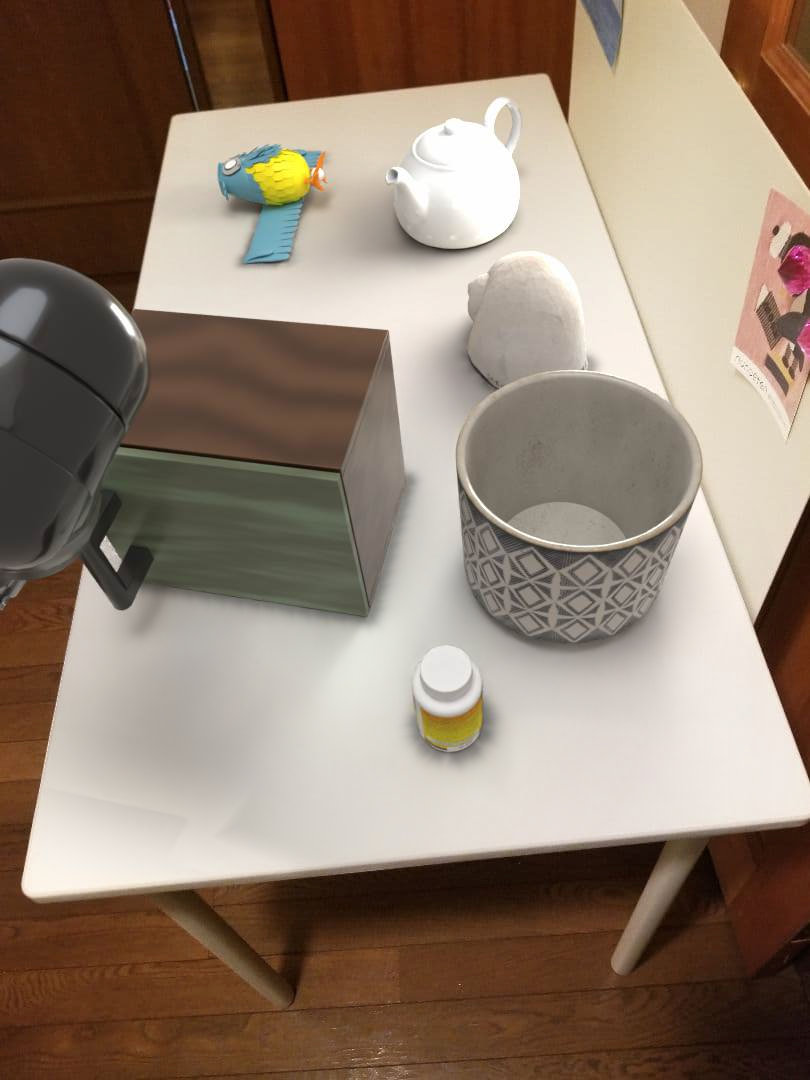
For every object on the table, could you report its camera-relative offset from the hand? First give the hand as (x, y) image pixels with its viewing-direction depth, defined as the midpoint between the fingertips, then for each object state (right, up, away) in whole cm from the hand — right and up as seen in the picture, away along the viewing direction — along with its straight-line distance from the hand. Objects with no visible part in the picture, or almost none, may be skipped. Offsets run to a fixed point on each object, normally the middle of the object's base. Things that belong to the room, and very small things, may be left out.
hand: (27, 543), depth 57 cm
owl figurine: (+8, +49, +61) cm, 79 cm away
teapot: (+34, +45, +56) cm, 80 cm away
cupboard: (+13, +2, +26) cm, 29 cm away
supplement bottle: (+31, -16, +12) cm, 36 cm away
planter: (+42, -3, +20) cm, 46 cm away
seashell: (+41, +23, +39) cm, 61 cm away
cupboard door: (+11, -7, +19) cm, 23 cm away
